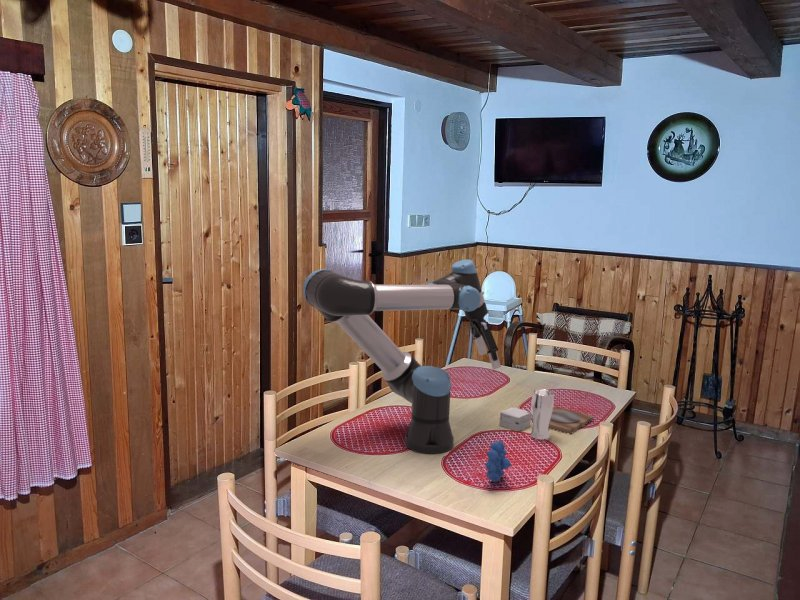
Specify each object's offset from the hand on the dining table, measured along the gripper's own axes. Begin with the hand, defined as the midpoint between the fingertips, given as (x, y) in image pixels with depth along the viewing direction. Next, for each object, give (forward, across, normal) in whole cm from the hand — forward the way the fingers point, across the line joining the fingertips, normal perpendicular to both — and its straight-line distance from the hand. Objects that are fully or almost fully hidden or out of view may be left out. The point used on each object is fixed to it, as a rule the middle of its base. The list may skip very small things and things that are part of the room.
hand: (489, 360), depth 226 cm
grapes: (+10, -51, +19) cm, 55 cm away
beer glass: (+21, -22, -4) cm, 31 cm away
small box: (+21, -11, +1) cm, 24 cm away
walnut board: (+27, -10, -16) cm, 33 cm away
